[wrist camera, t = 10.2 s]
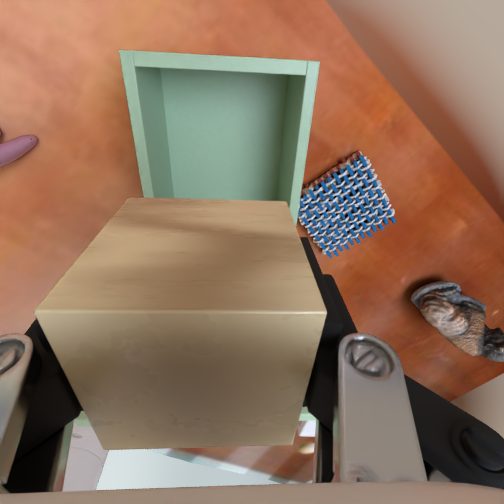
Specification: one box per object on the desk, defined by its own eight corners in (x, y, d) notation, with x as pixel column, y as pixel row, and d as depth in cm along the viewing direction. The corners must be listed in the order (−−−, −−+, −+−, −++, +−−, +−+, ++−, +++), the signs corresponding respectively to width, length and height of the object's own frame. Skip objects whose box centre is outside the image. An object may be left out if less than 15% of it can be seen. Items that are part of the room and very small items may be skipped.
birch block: (151, 312, 12) (103, 450, 7) (128, 196, 9) (30, 311, 5) (273, 312, 12) (292, 446, 8) (286, 200, 9) (328, 311, 5)
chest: (151, 55, 27) (118, 49, 19) (297, 63, 28) (320, 61, 20) (168, 203, 35) (150, 240, 27) (281, 206, 35) (294, 242, 28)
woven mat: (359, 143, 32) (367, 148, 30) (394, 212, 37) (402, 219, 35) (281, 197, 35) (284, 204, 33) (323, 254, 40) (327, 263, 38)
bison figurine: (396, 297, 45) (434, 351, 36) (431, 265, 42) (481, 315, 33) (447, 322, 48) (492, 375, 40) (482, 294, 45) (539, 346, 37)
